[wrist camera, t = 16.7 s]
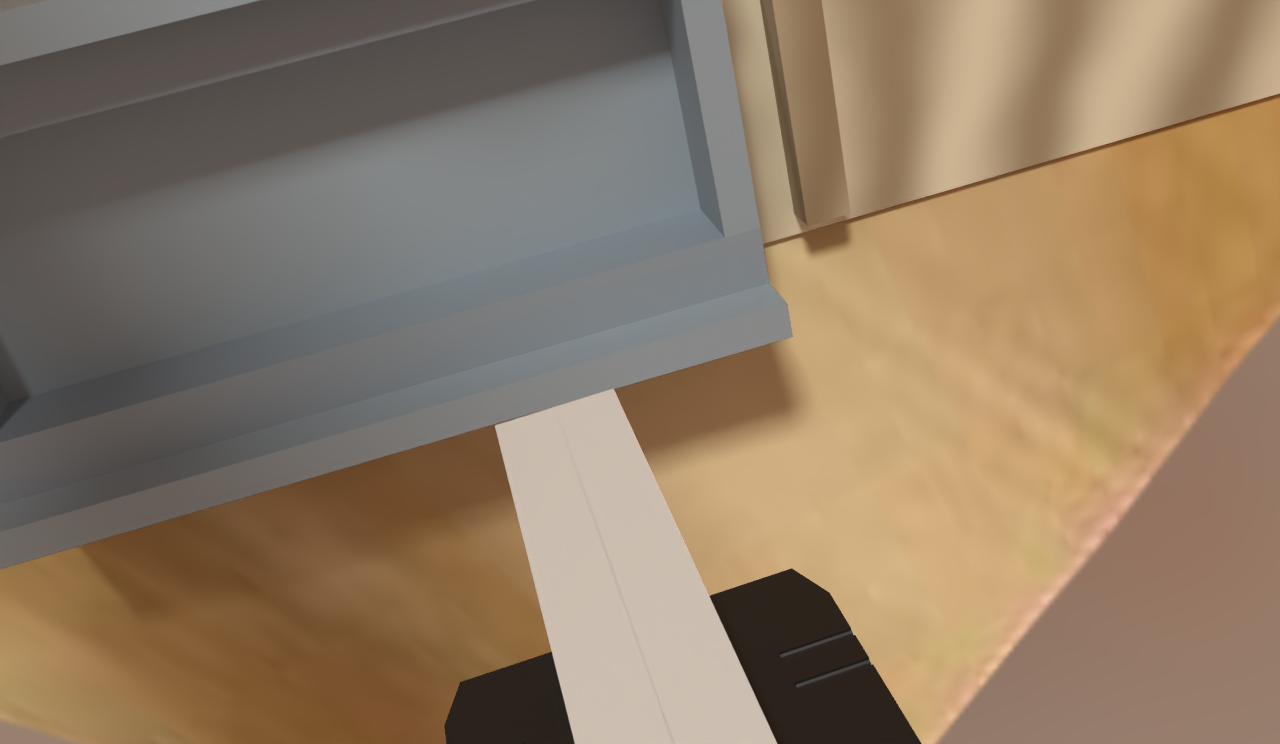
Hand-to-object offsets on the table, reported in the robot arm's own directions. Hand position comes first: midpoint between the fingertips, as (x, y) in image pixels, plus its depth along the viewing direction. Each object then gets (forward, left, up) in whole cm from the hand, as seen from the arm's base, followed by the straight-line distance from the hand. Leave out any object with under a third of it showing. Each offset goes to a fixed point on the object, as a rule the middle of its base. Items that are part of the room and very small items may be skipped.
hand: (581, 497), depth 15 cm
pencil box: (-5, -2, -26) cm, 26 cm away
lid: (+21, -3, -27) cm, 34 cm away
